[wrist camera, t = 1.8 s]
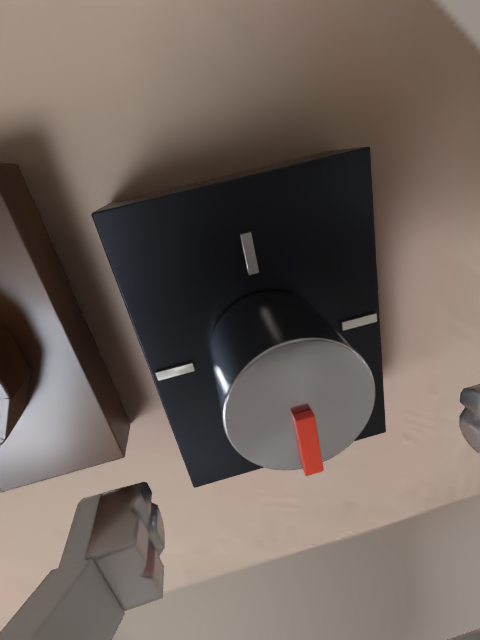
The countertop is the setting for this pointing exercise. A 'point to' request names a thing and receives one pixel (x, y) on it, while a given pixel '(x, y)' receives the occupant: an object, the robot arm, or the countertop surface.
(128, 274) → the dial panel
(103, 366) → the button box
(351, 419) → the dial
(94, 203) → the countertop surface
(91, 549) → the robot arm
